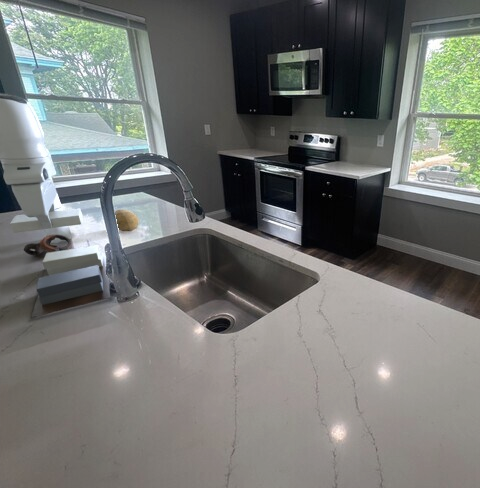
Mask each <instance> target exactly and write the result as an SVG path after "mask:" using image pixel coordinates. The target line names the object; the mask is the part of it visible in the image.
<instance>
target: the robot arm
mask: <svg viewBox="0 0 480 488" xmlns="http://www.w3.org/2000/svg"><path fill="white" fill-rule="evenodd" d="M0 163H1V166H2V169H3V175H2V176H3V180H4V182H5V184H6V185H9V186H11V190H12V193H13V195H14V197H15V199H16V201H17V203H18V206H20V209H21V211H22V213H23V214H25V215H26V216H27V217H29V218H31V217H36V218H37V219H38V220H39V222H40V223H41V225H42V228H43V229H42V230H44V229H49V228H52V222H51V220H50V218H49V216H48V212H50V211H55V207H54V200H55V198H56V196H57V194H58V191H57V188H56V185H55V184H54V181H52V180H53V177H54V176H56V175H57V171H56V168H55V164H54V161H53V158H52V155H51V152H50V151H49V150H48V148H47V146H46V143H45V134H44V131H43V129H42V125H41V123H40V121H39V118H38V116H37V114H36V112H35V110H34V108H33V107H32V106H31V104H30V103H29V101H28V100H26V99H24V98H23V97H20V96H18V95H13V94H9V93H5V92H0ZM51 177H52V178H51ZM56 191H57V192H56Z"/></svg>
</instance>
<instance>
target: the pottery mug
mask: <svg viewBox="0 0 480 488" xmlns="http://www.w3.org/2000/svg"><path fill="white" fill-rule="evenodd" d="M55 238H59V239H60V240H66V241H65V242H66V243H67V244H66V245H64V246H61V247H59V245H58V244H52V243H51V241H52V240H54V239H55ZM56 248H58V250H56ZM69 249H73V244H72V240H71V239H69V238H67V237H66V236H63V235H49V236H46V235H45V237H43V238H42V239H41V240H40V241H39V242H35V243H31V242H30V243H28V244H26V245H24V247H23V252H25V253H26V254H27V255H29V256H35V257H40V254H41V253H43V252H44V251H45V252H47V253H50V252H57V251H63V250H69Z"/></svg>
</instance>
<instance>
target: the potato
mask: <svg viewBox="0 0 480 488" xmlns="http://www.w3.org/2000/svg"><path fill="white" fill-rule="evenodd" d="M114 212H115V215H116V219H117V224H118V228H119V230H118V231H121V232H133V231H135V230H136V229H137V228H138V226H139V225H140V221H139V217H138V216H137V215H136V213H134V212H132V211H130V210H128V209H121V208H120V209H116V210H115V211H114Z"/></svg>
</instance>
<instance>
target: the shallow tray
mask: <svg viewBox="0 0 480 488" xmlns="http://www.w3.org/2000/svg"><path fill="white" fill-rule="evenodd" d="M105 252H106V251H101V254H102V257H103V266H101V267H99V269H100V272H101V276H102V279H103V291H99V292H95V293H91V294H87V295H83V296H78V297H74V298H70V299H66V300H62V301H58V302H53V303H49V304H45V305H41V302H40V300H39V298H38V297H39V294H38V293H37V296H36V300H35V302H34V306H33V310H32V312H31V316H30V318H31V319H32V318H36V317H40V316H43V315H48V314H51V313H55V312H59V311H63V310H67V309H72V308H76V307H79V306H83V305H87V304H91V303H95V302H99V301H103V300H107V299H110V298H111V292H110V289H111V288H110V277H109V278H108V277H107V276H106V274H105V265H106V256H105ZM45 276H49V274H48V272H47V269H44V274H43V277H45Z"/></svg>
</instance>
